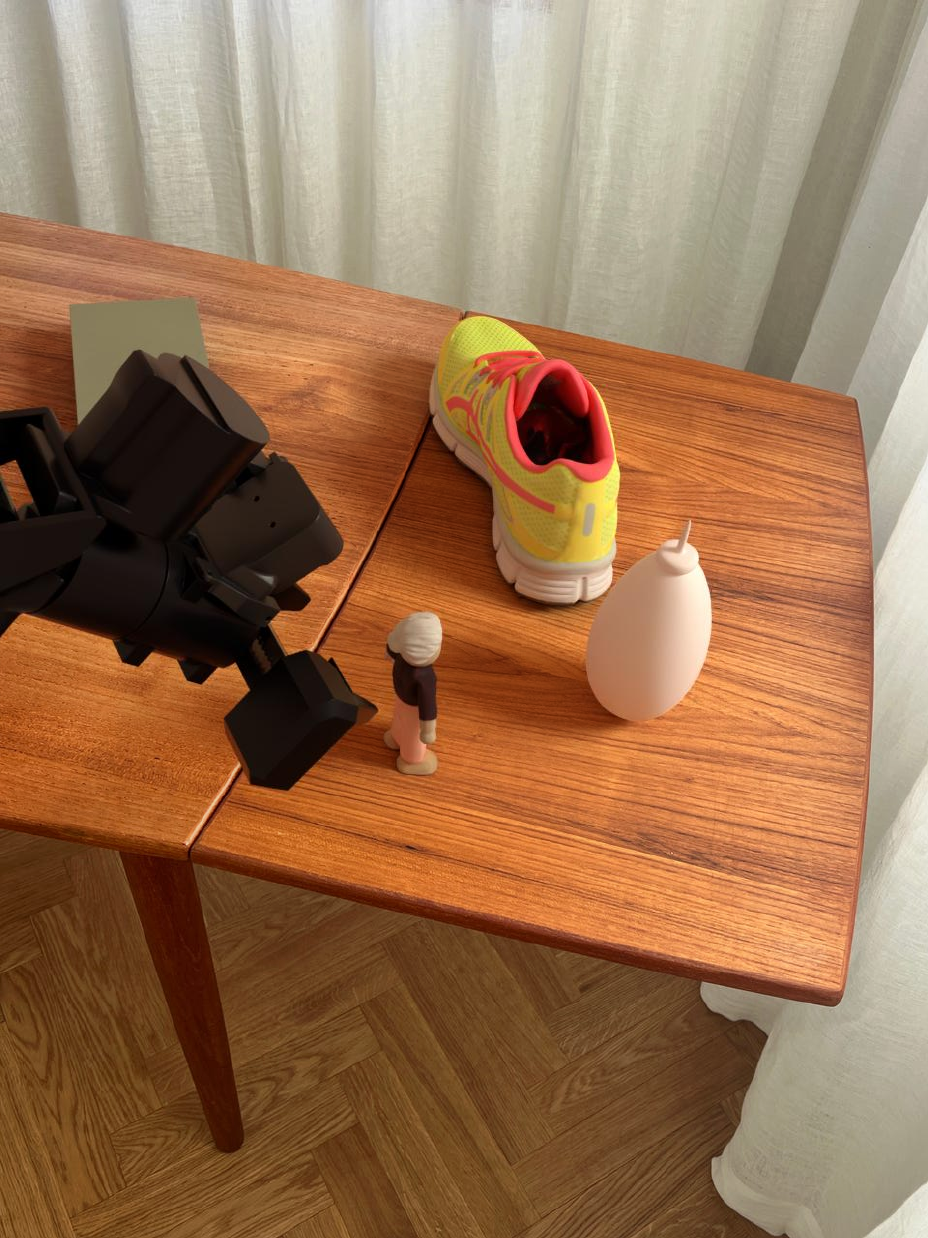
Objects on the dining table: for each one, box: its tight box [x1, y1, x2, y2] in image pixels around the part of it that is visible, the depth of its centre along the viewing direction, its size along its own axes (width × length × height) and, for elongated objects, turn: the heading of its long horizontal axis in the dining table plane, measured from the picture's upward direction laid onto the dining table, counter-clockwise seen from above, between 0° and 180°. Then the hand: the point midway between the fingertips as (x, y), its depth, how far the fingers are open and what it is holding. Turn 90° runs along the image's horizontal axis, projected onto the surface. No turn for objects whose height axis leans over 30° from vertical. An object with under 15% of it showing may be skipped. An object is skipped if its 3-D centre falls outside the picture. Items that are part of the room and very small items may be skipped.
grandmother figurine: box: [383, 611, 443, 776], centre depth 71 cm, size 8×4×13 cm, turn 33°
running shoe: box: [428, 315, 621, 606], centre depth 90 cm, size 12×31×14 cm, turn 18°
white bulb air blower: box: [585, 519, 713, 722], centre depth 73 cm, size 8×8×18 cm
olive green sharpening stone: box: [68, 296, 211, 426], centre depth 92 cm, size 32×11×4 cm, turn 15°
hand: (337, 656), depth 65 cm, fingers open, 9 cm apart
